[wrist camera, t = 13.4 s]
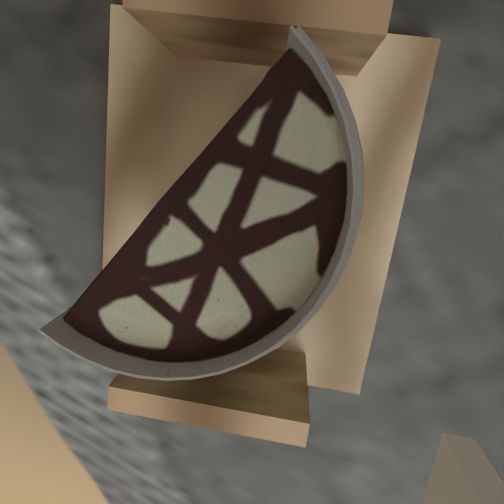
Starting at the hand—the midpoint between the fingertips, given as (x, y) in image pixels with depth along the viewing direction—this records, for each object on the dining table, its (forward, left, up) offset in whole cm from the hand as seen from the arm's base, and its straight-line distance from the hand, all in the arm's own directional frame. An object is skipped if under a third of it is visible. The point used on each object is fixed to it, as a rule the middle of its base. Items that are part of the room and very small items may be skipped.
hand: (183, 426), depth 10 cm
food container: (-1, -4, -12) cm, 12 cm away
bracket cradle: (0, -4, -13) cm, 13 cm away
